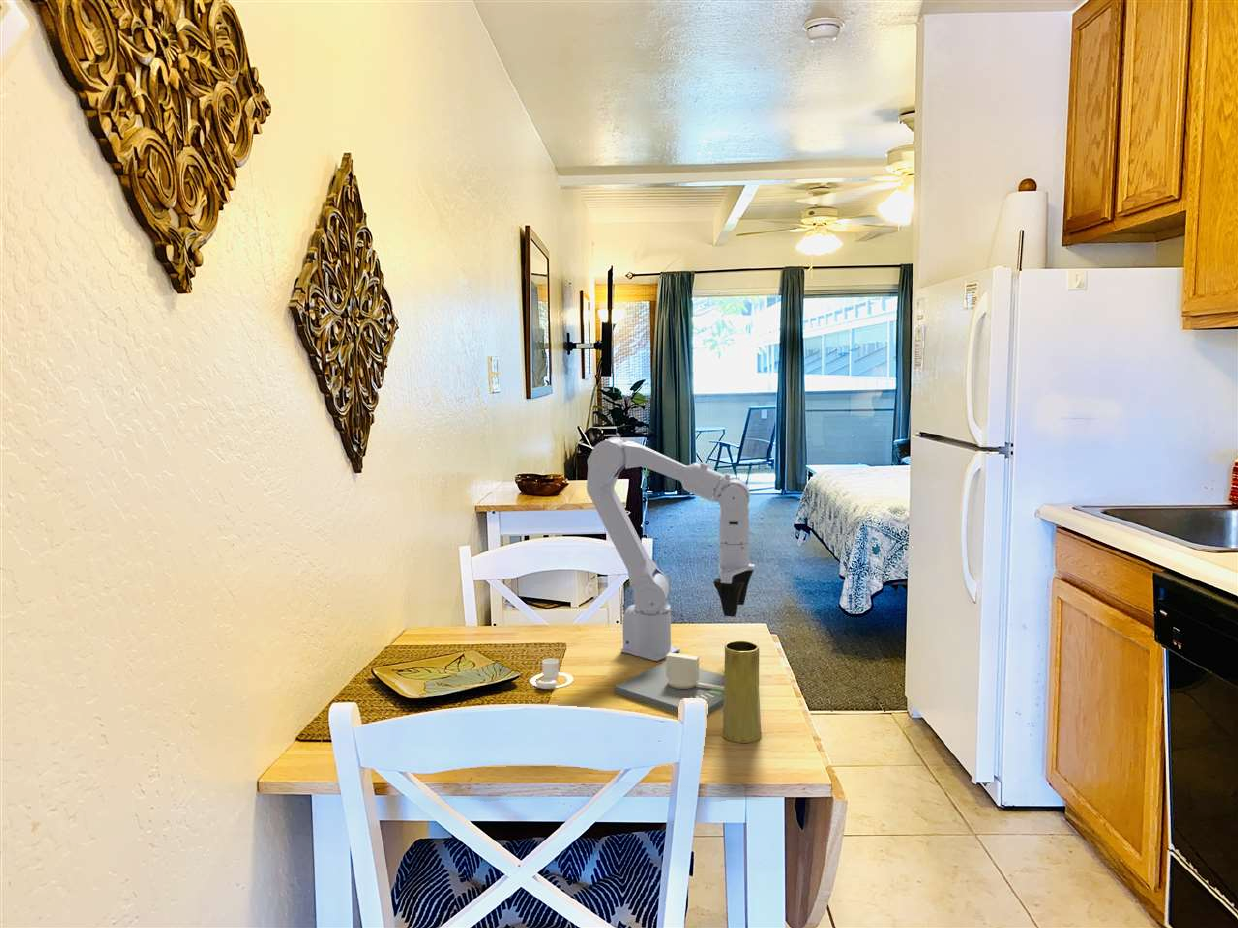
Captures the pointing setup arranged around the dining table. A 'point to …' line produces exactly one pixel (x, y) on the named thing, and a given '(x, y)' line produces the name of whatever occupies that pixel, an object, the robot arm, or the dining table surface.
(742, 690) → the vase
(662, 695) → the dial board
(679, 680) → the knob
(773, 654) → the dining table surface
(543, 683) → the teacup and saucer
